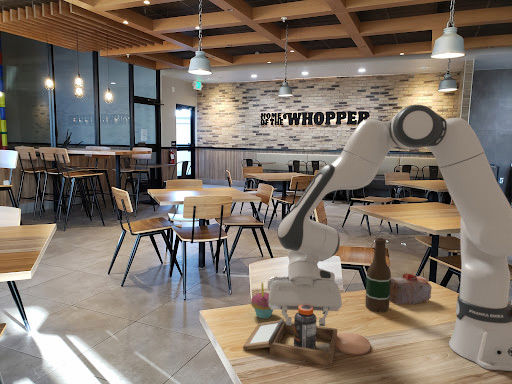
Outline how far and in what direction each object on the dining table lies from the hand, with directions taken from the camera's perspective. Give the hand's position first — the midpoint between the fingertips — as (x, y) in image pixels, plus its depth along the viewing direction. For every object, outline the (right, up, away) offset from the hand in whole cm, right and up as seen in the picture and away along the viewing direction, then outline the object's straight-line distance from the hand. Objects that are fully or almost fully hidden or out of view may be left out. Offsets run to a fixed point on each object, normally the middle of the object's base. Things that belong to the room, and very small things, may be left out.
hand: (305, 325), depth 102 cm
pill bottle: (0, -6, +1) cm, 7 cm away
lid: (-11, -6, +5) cm, 13 cm away
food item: (+41, -3, +34) cm, 53 cm away
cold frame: (0, -6, +1) cm, 6 cm away
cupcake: (-11, -4, +20) cm, 23 cm away
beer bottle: (+28, -4, +27) cm, 39 cm away
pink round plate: (+13, -6, +3) cm, 15 cm away
